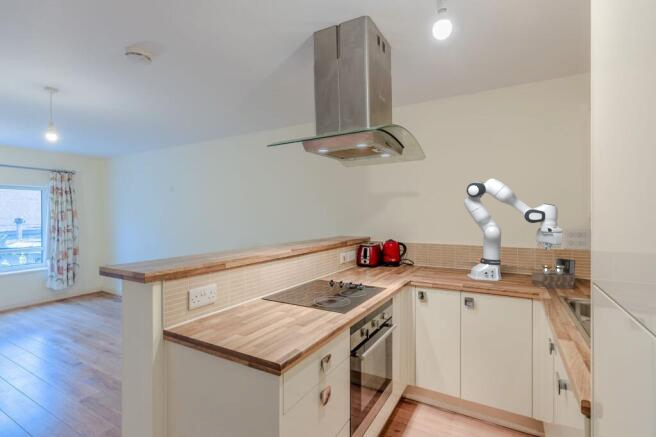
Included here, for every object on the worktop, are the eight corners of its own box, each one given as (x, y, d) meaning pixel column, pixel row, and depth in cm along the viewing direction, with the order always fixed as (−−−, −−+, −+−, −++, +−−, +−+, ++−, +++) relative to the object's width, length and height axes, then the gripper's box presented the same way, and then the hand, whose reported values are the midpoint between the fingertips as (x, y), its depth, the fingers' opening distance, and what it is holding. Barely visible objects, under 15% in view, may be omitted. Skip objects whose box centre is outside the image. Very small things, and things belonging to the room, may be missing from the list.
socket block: (541, 288, 198) (541, 275, 198) (531, 284, 208) (532, 272, 208) (573, 289, 198) (573, 276, 197) (561, 284, 208) (562, 273, 207)
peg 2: (557, 280, 200) (557, 266, 199) (551, 278, 205) (551, 264, 205) (565, 280, 200) (566, 266, 199) (559, 278, 205) (560, 264, 205)
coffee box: (574, 283, 211) (576, 260, 211) (569, 284, 209) (570, 261, 208) (560, 280, 220) (561, 258, 219) (554, 281, 217) (556, 258, 216)
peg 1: (544, 279, 200) (545, 266, 199) (538, 277, 206) (539, 264, 205) (553, 280, 200) (554, 266, 199) (547, 277, 205) (548, 264, 205)
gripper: (533, 227, 211) (532, 247, 212) (554, 230, 191) (553, 252, 192) (543, 227, 211) (542, 247, 212) (565, 230, 191) (563, 252, 191)
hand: (547, 249), depth 202 cm, fingers closed
